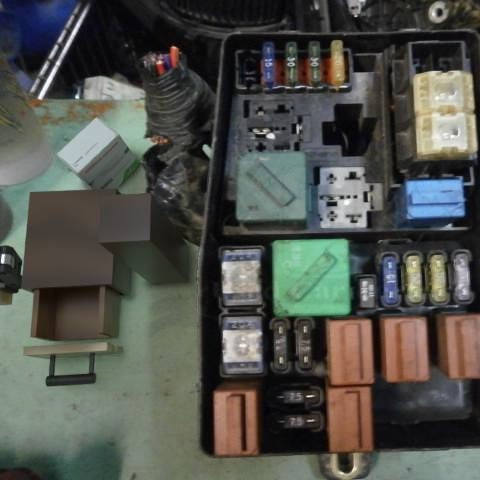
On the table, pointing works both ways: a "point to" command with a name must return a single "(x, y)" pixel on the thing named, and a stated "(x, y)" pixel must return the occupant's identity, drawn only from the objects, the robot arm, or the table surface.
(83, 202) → the cabinet
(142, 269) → the post
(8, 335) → the table surface
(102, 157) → the ink box
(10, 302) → the block
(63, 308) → the drawer
